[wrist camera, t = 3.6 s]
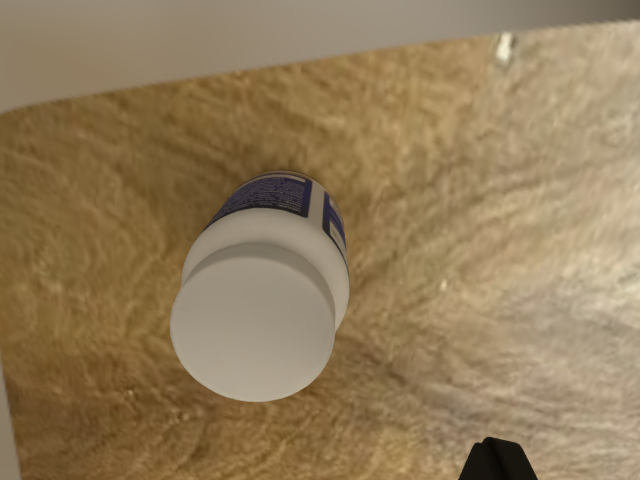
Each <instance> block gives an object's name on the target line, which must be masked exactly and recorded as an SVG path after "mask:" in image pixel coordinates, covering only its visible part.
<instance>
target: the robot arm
mask: <svg viewBox="0 0 640 480" xmlns="http://www.w3.org/2000/svg"><path fill="white" fill-rule="evenodd" d="M458 480H538V479H537V477H536V475H535V473H534V471H533V469H532V467H531V465H530V463H529V461H528V459H527V457H526V455H525V453H524V451H523V449H522V447H521V446H520V445H519V444H517V443H515V442H510V441H506V440H501V439H497V438H493V437H486V438H485V439H484V440H483V442H482V443H475V444H474V446H473V447H472V449H471V452H470V454H469V456H468V459H467V461H466V463H465V465H464V468H463V470H462V472H461V475H460V477H459V479H458Z"/></svg>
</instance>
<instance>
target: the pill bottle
mask: <svg viewBox="0 0 640 480" xmlns="http://www.w3.org/2000/svg"><path fill="white" fill-rule="evenodd" d="M348 300H349V272H348V263H347V253H346V243H345V233H344V224H343V220H342V216H341V213H340V210H339V208H338V206H337V204H336V202H335V200H334V199H333V197H332V196H331V194H330V193H329V192H328V191H327V190H326V189H325V188H324V187H323V186H322V185H321V184H319V183H318V182H316V181H315V180H313V179H311V178H310V177H307V176H305V175H303V174H300V173H296V172H292V171H270V172H265V173H262V174H259V175H256V176H254V177H252V178H250V179H248V180H247V181H245V182H244V183H243V184H241V185H240V186H239V187H238V188H237V189H236V190H235V191H234V192H233V193H232V194H231V196H230V197H229V198H228V200H227V201H226V202H225V203H224V205H223V206H222V207H221V209H220V210H219V211H218V212H217V214H216V215H215V216H214V217H213V219H212V220H211V221H210V223H209V224H208V225H207V226H206V228H205V229H204V230H203V231H202V233H201V234H200V235H199V237H198V238H197V239H196V241H195V242H194V244H193V245H192V247H191V248H190V251H189V253H188V255H187V257H186V260H185V263H184V266H183V271H182V277H181V289H180V291H179V293H178V295H177V297H176V299H175V301H174V304H173V307H172V311H171V317H170V334H171V339H172V344H173V346H174V349H175V352H176V354H177V356H178V358H179V360H180V362H181V363H182V365H183V366H184V367H185V369H186V370H187V371H188V372H189V373H190V374H191V375H192V376H193V377H194V378H195V379H196V380H197V381H198V382H199V383H201V384H202V385H204V386H205V387H207V388H208V389H210V390H212V391H214V392H215V393H217V394H220V395H222V396H225V397H228V398H232V399H236V400H241V401H249V402H264V401H272V400H277V399H281V398H284V397H287V396H289V395H292V394H294V393H296V392H298V391H300V390H301V389H303V388H304V387H306V386H307V385H309V384H310V383H311V382H312V381H314V380H315V378H316V377H317V376H318V375H319V374H320V373H321V371H322V370H323V369H324V367H325V366H326V364H327V362H328V360H329V358H330V355H331V352H332V349H333V346H334V339H335V332H336V330H337V329H338V327H339V326H340V324H341V322H342V320H343V318H344V315H345V312H346V309H347V305H348Z"/></svg>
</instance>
